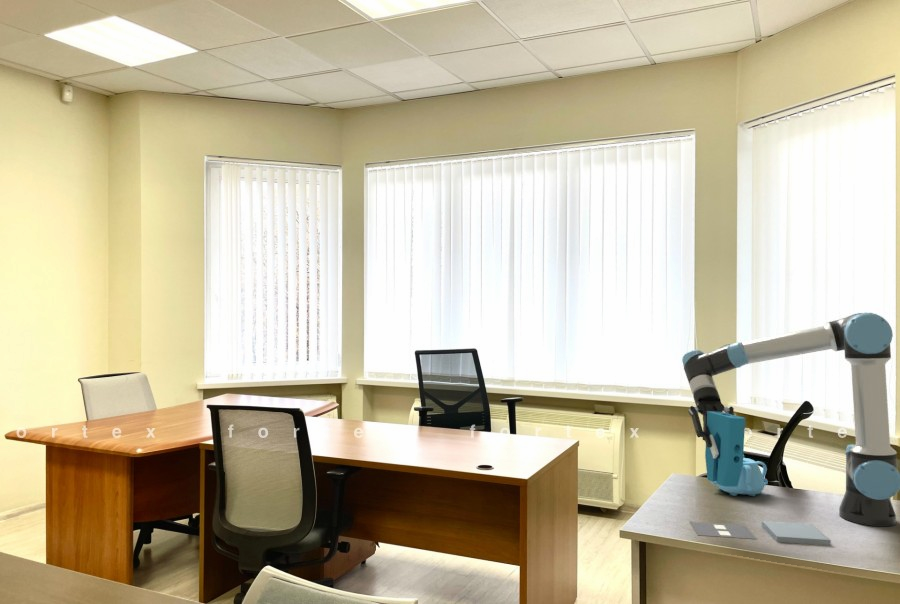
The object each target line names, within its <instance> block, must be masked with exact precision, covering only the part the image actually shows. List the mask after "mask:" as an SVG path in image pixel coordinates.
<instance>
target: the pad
mask: <svg viewBox="0 0 900 604" xmlns="http://www.w3.org/2000/svg"><path fill="white" fill-rule="evenodd" d="M761 527H762V528H763V529H764V530H765V531H766V532H767V533H768V535H770V536H771V538H773V540H775V541H776V543H791V544H803V545H805V544H806V545H817V546H819V545H821V546H832V545H831V543H832V541H831V539H830V538H829V537H828V536H827V535H825V534H824V533H823V532H822V531H821V530H820V529H819V528H817V527H816V526H815V525H814V524H813V523H806V522H805V523H802V522H787V521H773V520H772V521H771V520H770V521H769V520H761Z"/></svg>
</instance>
